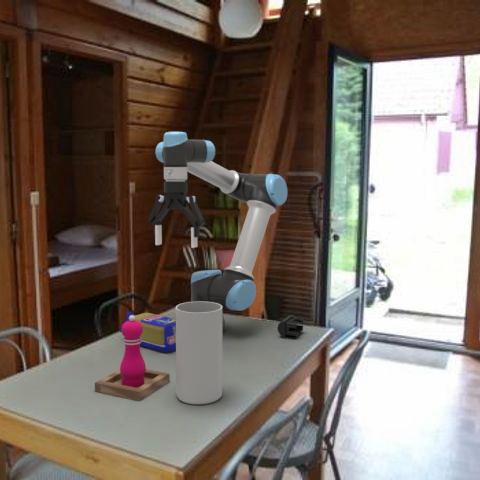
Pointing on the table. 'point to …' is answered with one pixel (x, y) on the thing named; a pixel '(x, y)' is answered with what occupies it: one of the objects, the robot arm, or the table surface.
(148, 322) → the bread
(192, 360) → the cylinder vase
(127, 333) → the pepper mill
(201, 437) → the table surface
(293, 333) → the end cap
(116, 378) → the walnut holder
